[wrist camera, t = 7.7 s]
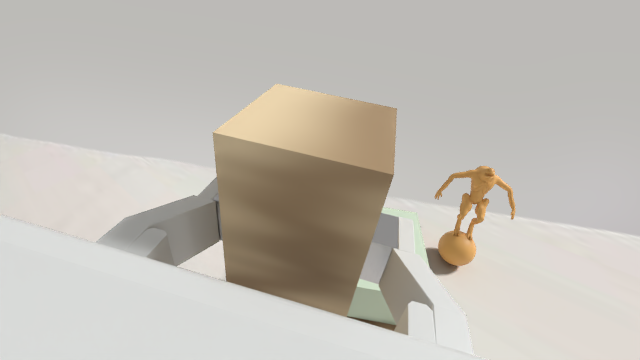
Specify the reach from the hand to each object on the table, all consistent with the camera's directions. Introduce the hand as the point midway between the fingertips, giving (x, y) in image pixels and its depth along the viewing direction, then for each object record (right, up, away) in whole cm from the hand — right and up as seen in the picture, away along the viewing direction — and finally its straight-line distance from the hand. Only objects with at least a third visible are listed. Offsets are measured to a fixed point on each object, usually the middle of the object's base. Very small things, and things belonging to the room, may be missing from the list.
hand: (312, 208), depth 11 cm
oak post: (-1, -5, +3) cm, 6 cm away
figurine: (+16, -8, +25) cm, 31 cm away
